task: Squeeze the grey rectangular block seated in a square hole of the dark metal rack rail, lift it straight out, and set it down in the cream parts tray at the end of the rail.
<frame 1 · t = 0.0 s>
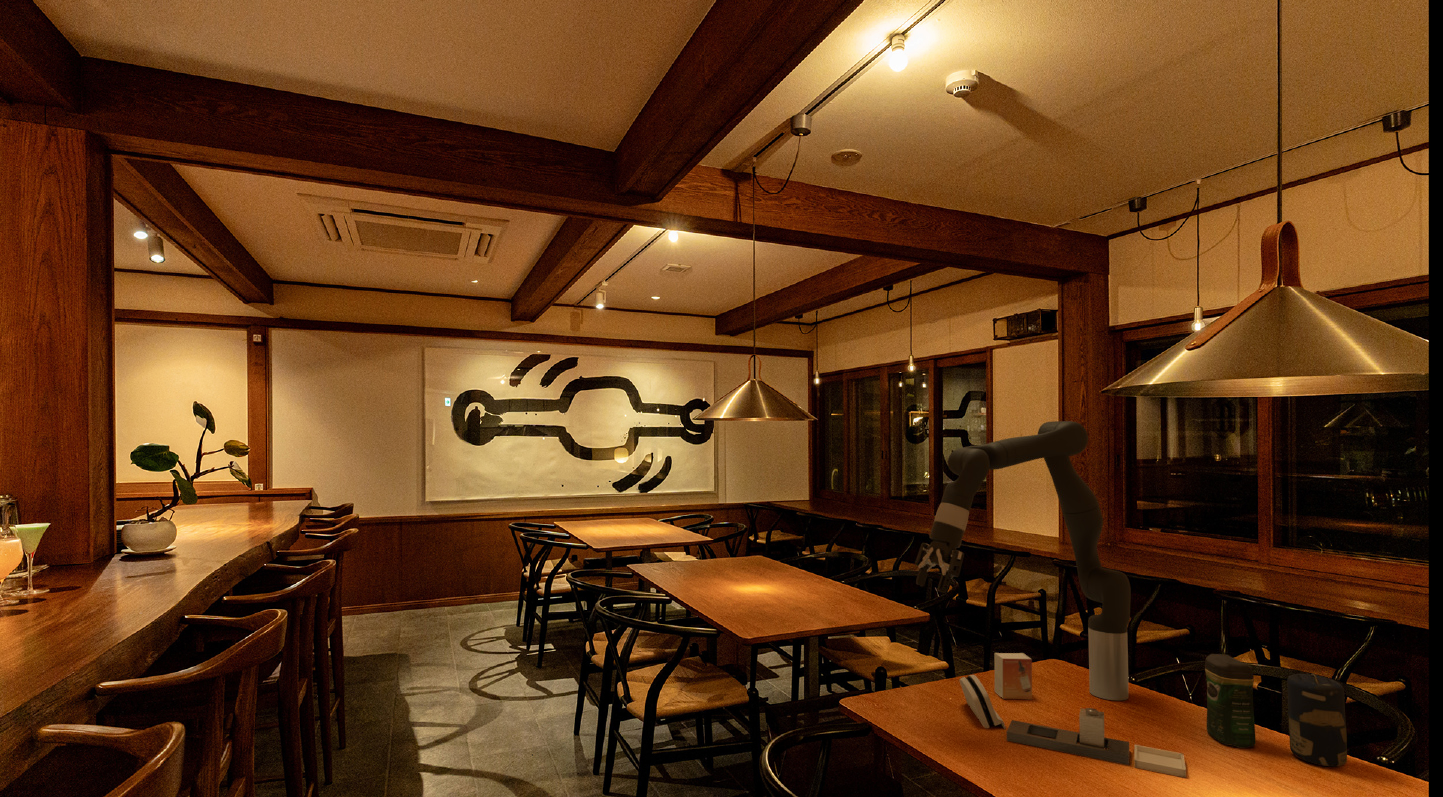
hand: (930, 588, 175), 31 cm above the table, tool tilted 20°, fingers open, 8 cm apart
small box: (1013, 696, 192), on the table
grey rectangular block: (1092, 751, 158), resting in rack rail
coffee jar: (1231, 741, 164), on the table
canister: (1318, 761, 154), on the table
rack rail: (1067, 746, 160), on the table
parts tray: (1159, 764, 152), on the table
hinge: (980, 716, 178), on the table
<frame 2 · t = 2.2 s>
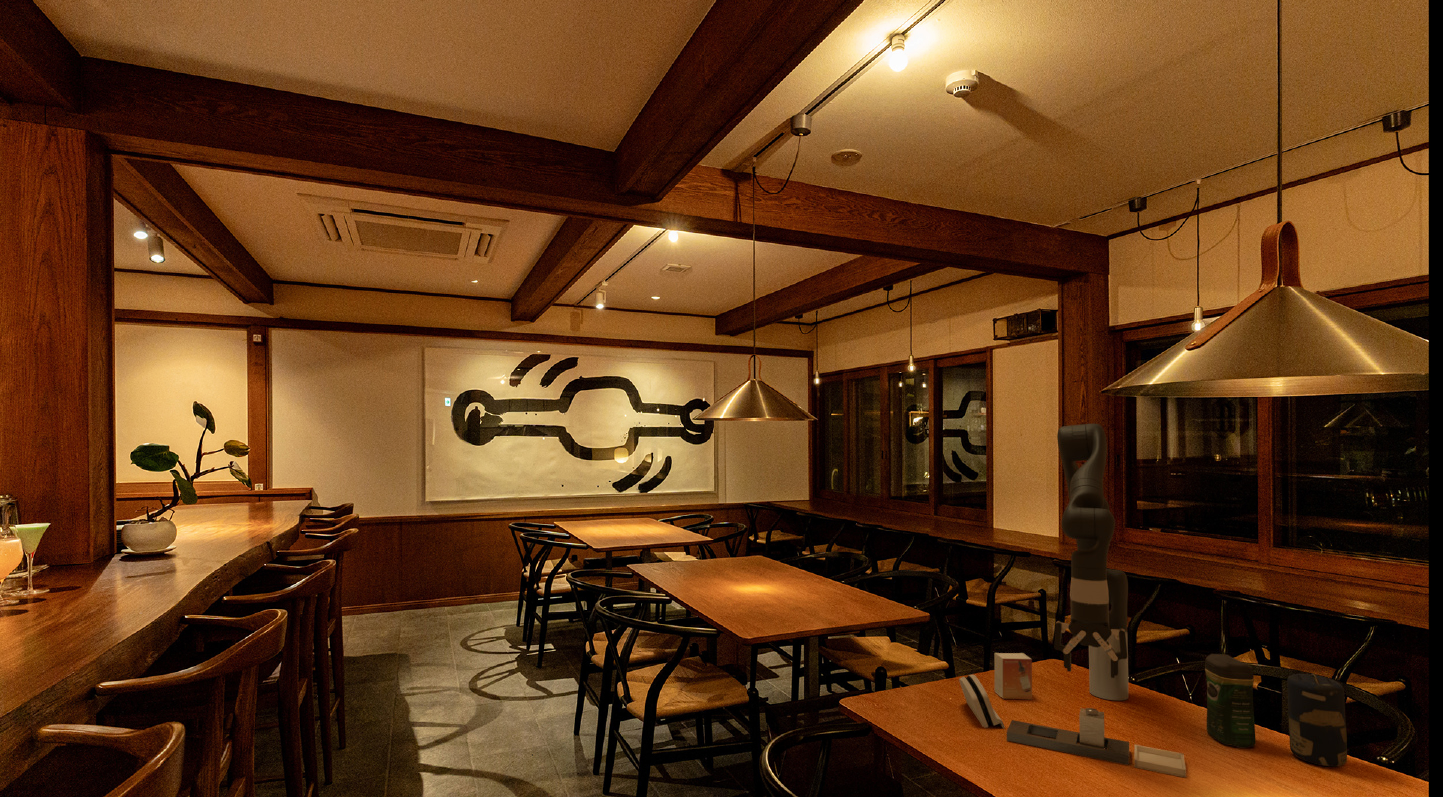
hand: (1090, 673, 159), 16 cm above the table, tool pointing down, fingers open, 8 cm apart
nothing on the table moved.
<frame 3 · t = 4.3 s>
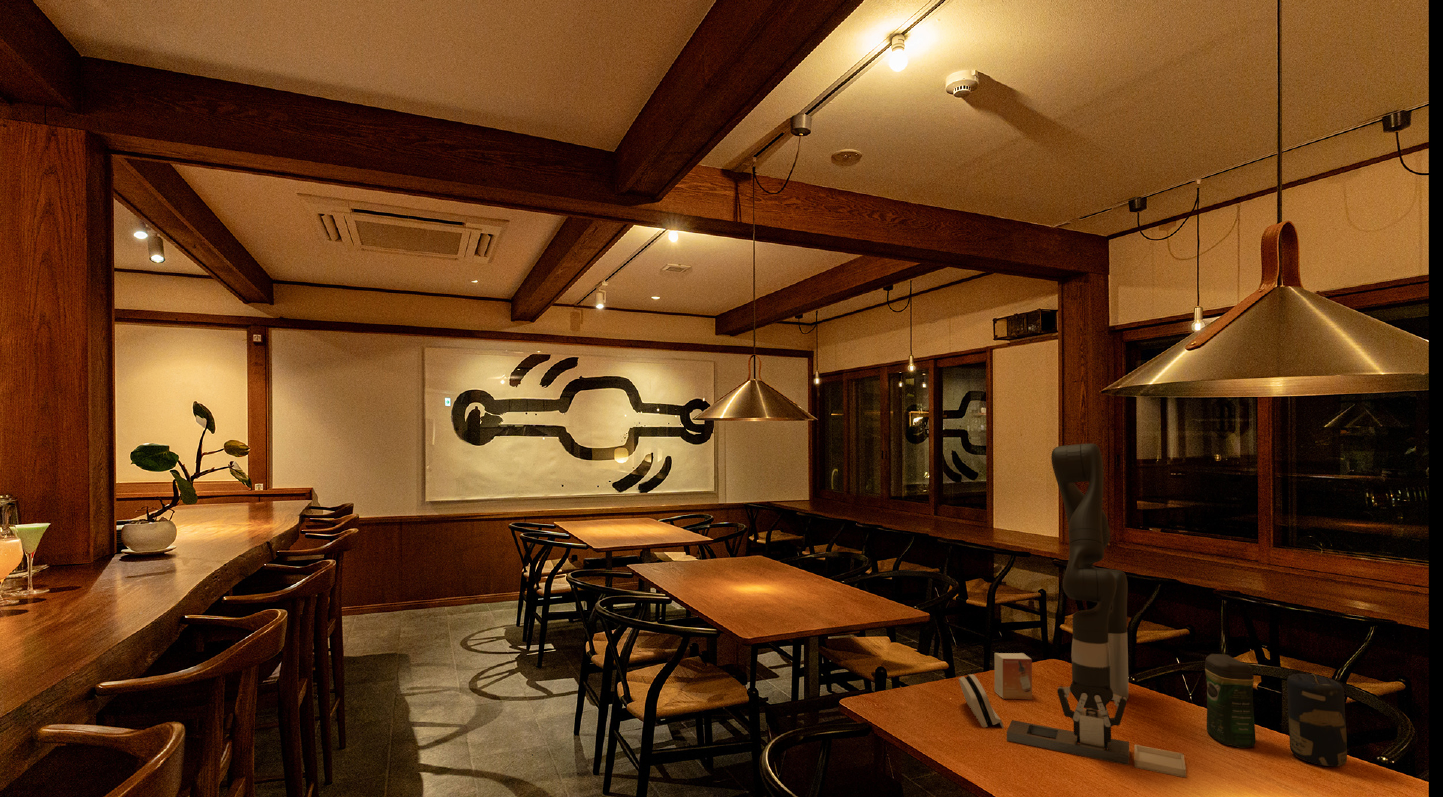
hand: (1092, 739, 158), 2 cm above the table, tool pointing down, fingers closed on grey rectangular block, 4 cm apart
grey rectangular block: (1092, 751, 158), resting in rack rail, touching gripper
everything else where it was.
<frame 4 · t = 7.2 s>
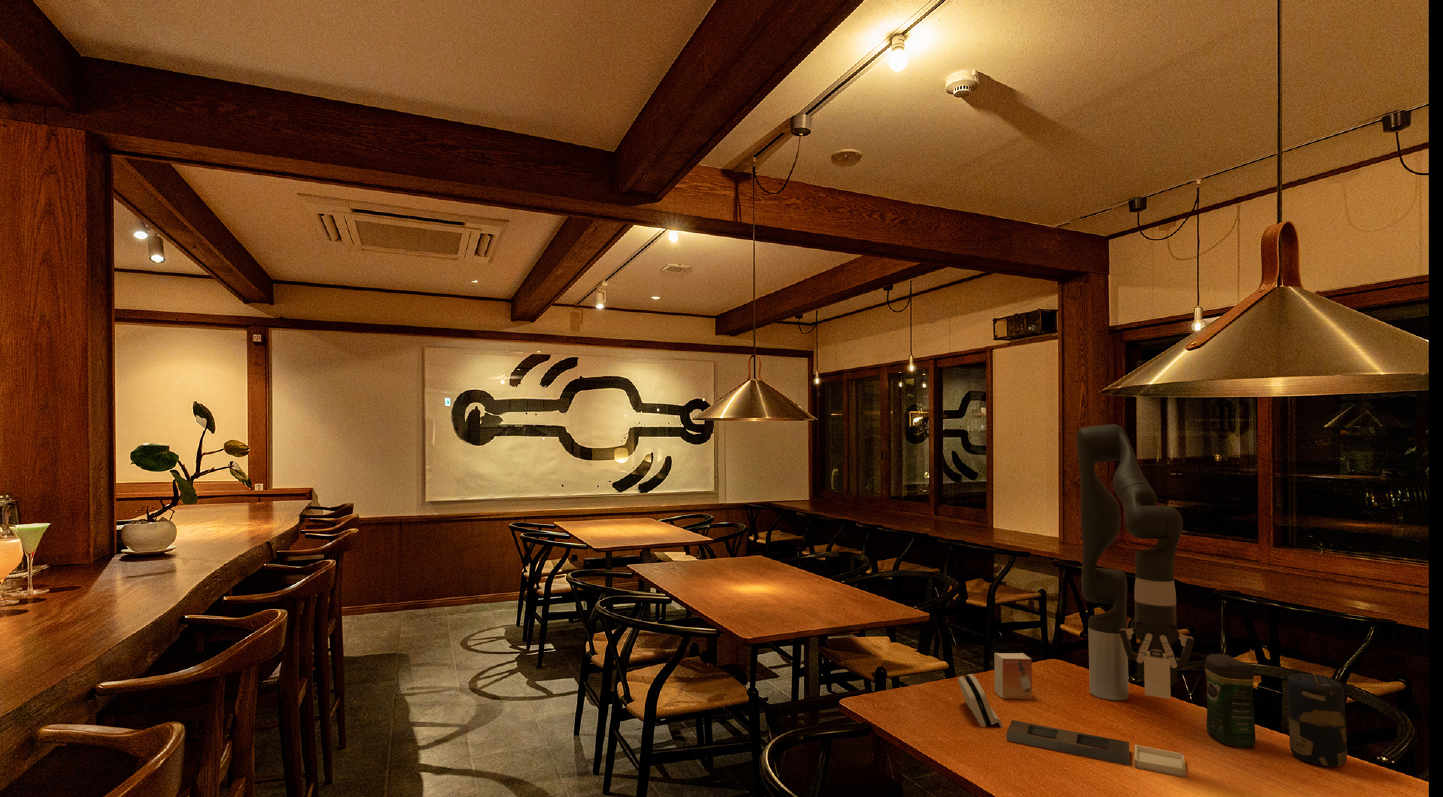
hand: (1156, 682, 153), 17 cm above the table, tool pointing down, fingers closed on grey rectangular block, 4 cm apart
grey rectangular block: (1157, 693, 153), point 14 cm above the table, touching gripper
everything else where it was.
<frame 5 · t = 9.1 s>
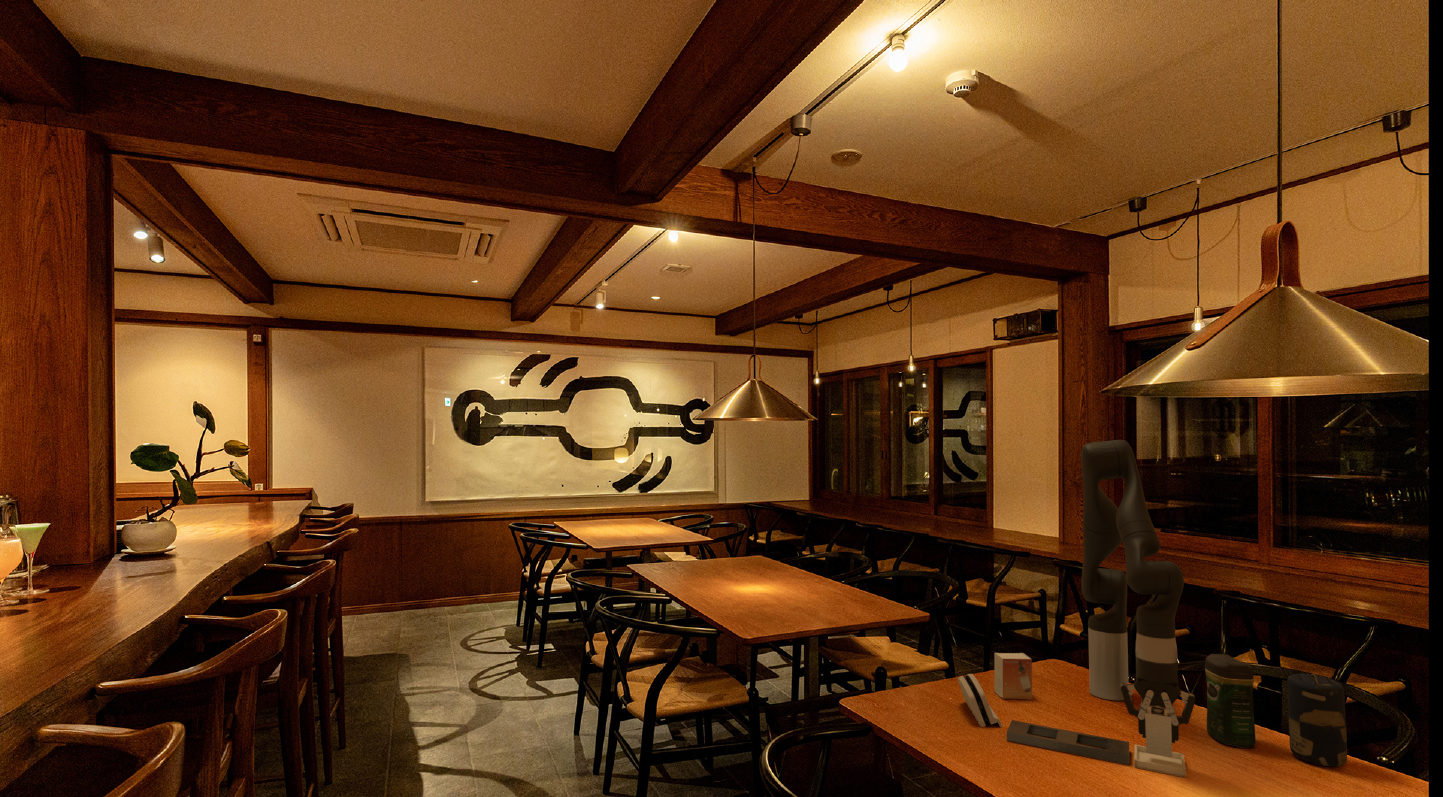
hand: (1158, 739, 152), 5 cm above the table, tool pointing down, fingers closed on grey rectangular block, 4 cm apart
grey rectangular block: (1158, 750, 152), point 3 cm above the table, touching gripper
everything else where it was.
when the fingers open (4 cm above the table, at t = 10.3 s): grey rectangular block stays where it is, resting on parts tray.
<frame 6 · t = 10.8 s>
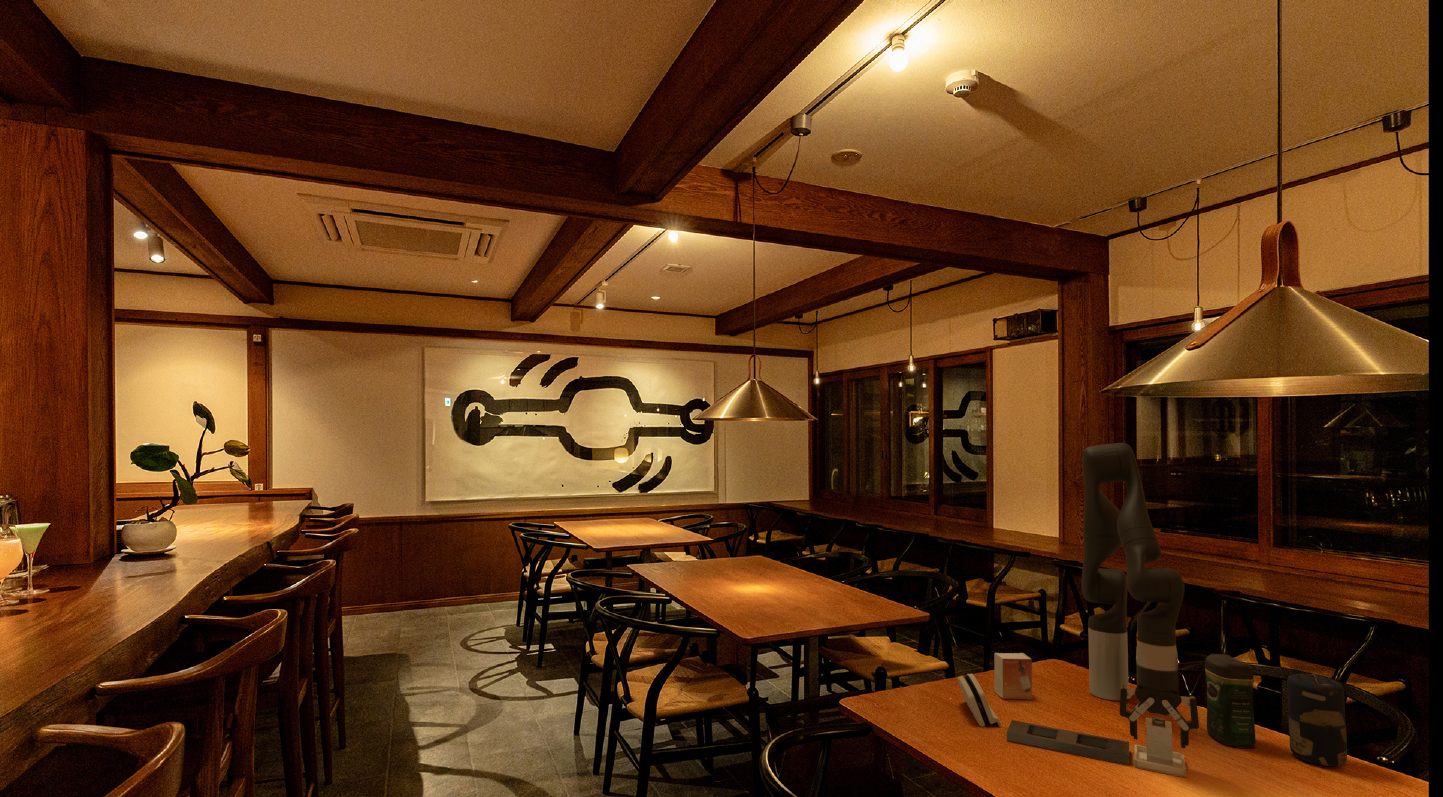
hand: (1158, 742, 152), 4 cm above the table, tool pointing down, fingers open, 8 cm apart
grey rectangular block: (1159, 762, 152), resting on parts tray
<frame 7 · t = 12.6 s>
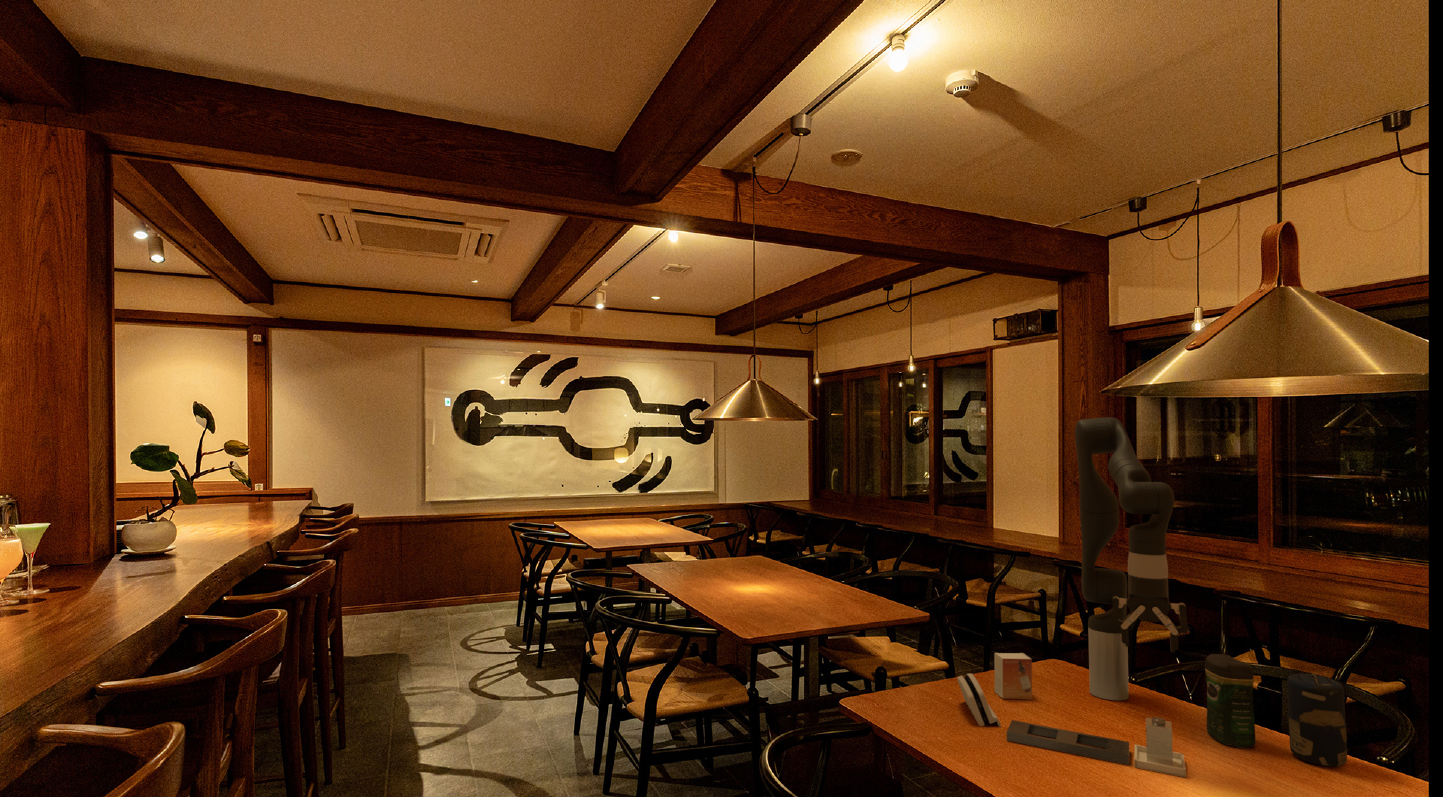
hand: (1149, 648, 158), 23 cm above the table, tool pointing down, fingers open, 8 cm apart
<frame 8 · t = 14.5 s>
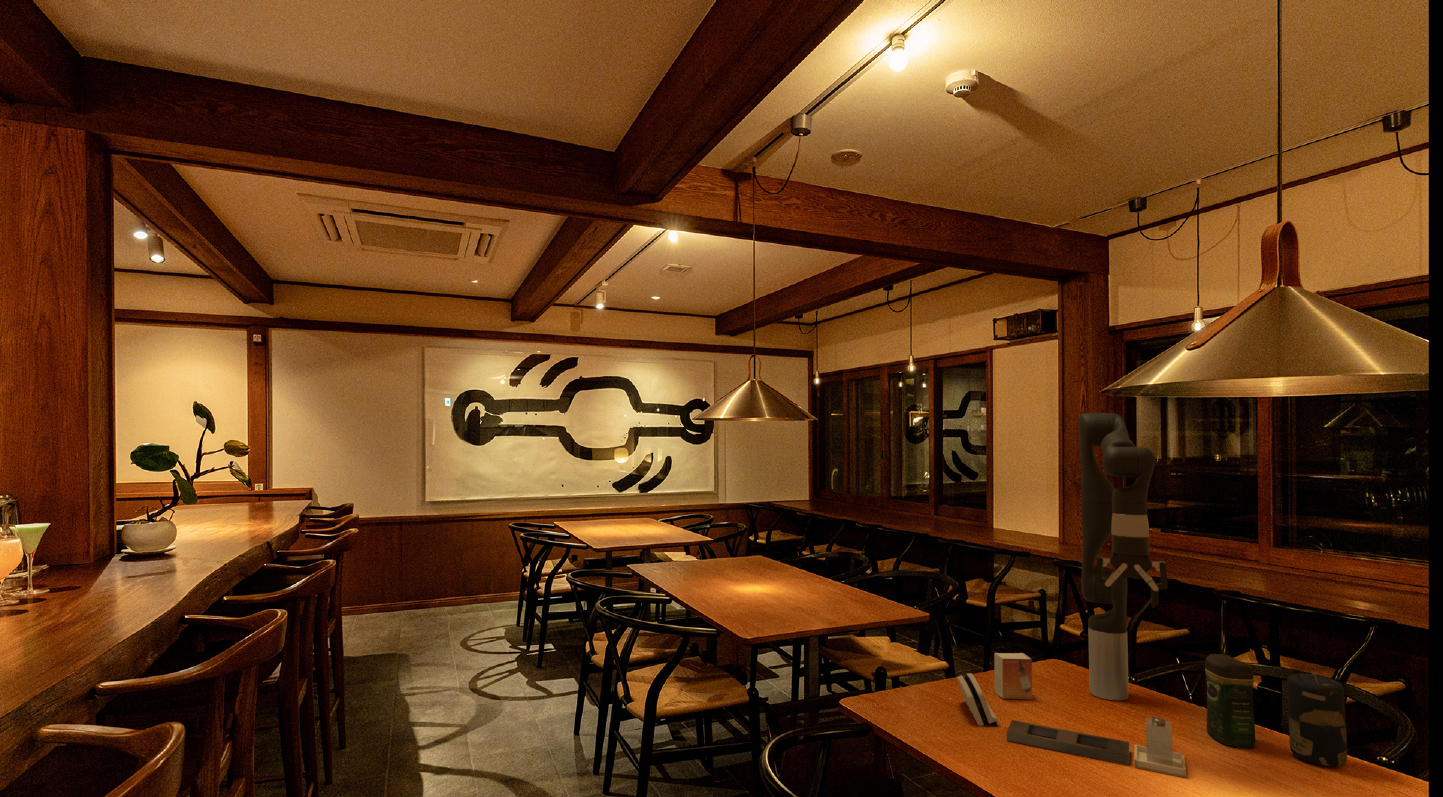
hand: (1131, 604, 166), 30 cm above the table, tool pointing down, fingers open, 8 cm apart
at the end: grey rectangular block inside the target area on the parts tray (0.0 cm from its centre), point 0.4 cm above the parts tray's base; grey rectangular block touching parts tray; the gripper is holding nothing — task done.
